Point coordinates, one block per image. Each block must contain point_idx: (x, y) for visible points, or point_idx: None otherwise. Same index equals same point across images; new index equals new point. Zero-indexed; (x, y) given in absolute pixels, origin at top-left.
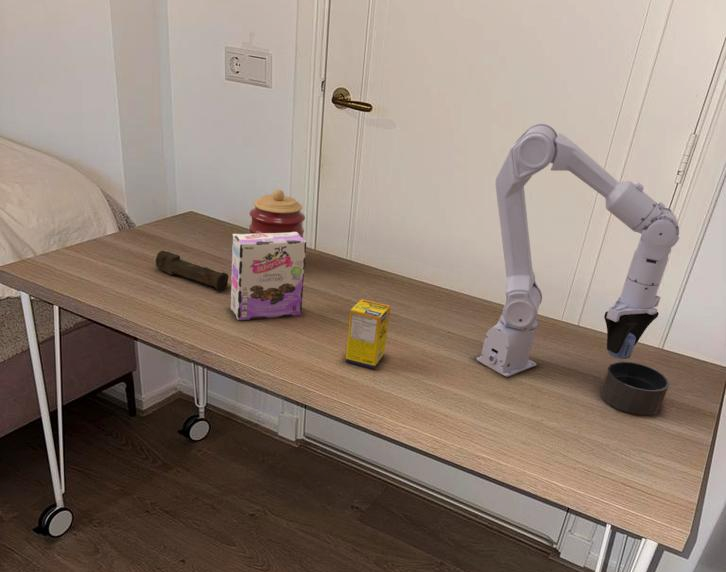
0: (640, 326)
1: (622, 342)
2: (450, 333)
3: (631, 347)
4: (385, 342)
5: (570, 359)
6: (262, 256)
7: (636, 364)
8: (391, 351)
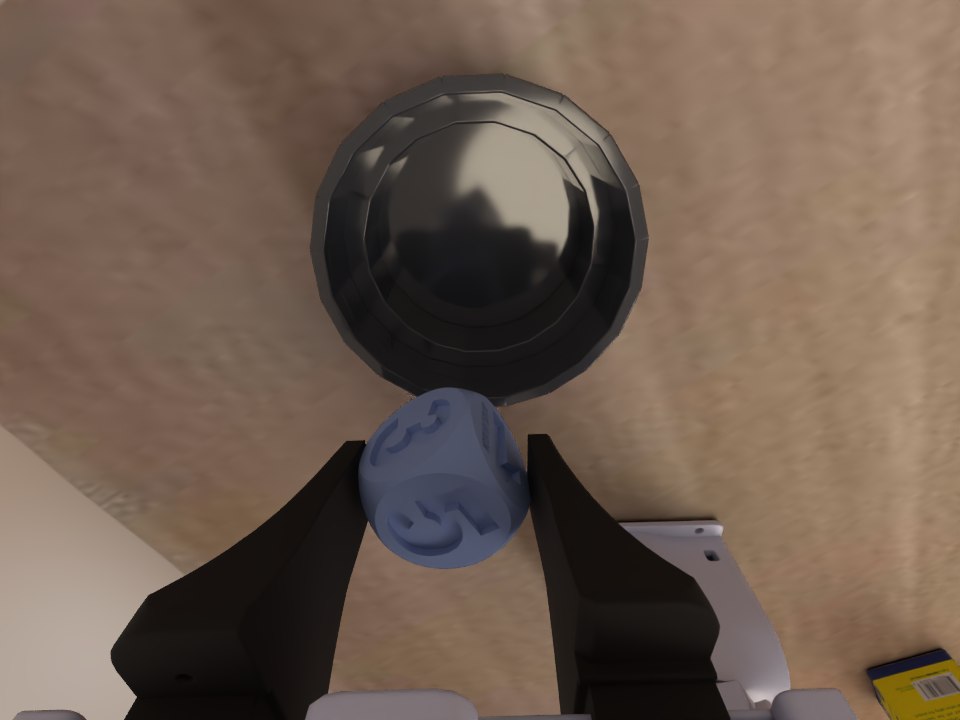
0: (318, 550)
1: (565, 478)
2: None
3: (474, 427)
4: (903, 717)
5: None
6: None
7: (367, 349)
8: (820, 677)
